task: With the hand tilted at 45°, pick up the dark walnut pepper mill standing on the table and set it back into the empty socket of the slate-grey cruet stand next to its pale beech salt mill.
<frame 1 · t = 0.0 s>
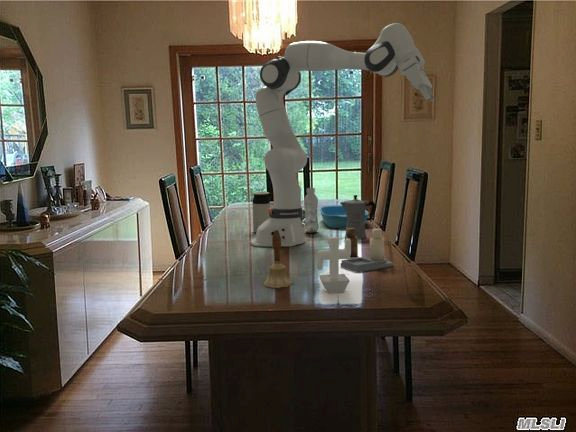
hand: (430, 99, 181), 54 cm above the table, tool tilted 30°, fingers open, 8 cm apart
cruet stand: (366, 266, 168), on the table
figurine: (334, 291, 142), on the table
hand bell: (277, 285, 150), on the table
travel mug: (262, 231, 238), on the table
casserole dish: (343, 224, 256), on the table
coffeepot: (358, 237, 219), on the table
plastic bottle: (311, 233, 232), on the table
pepper mill: (351, 256, 183), on the table
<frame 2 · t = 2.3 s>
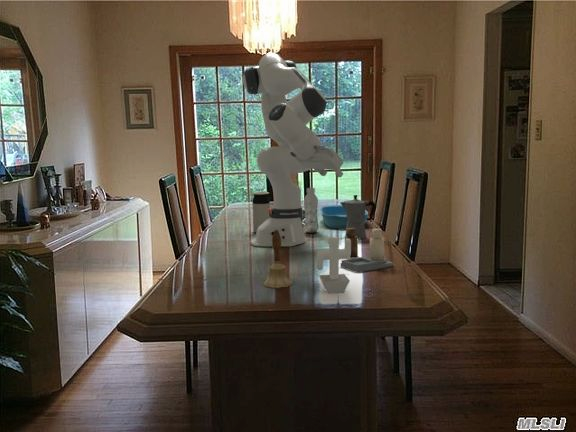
hand: (332, 175, 173), 29 cm above the table, tool tilted 45°, fingers open, 8 cm apart
nothing on the table moved.
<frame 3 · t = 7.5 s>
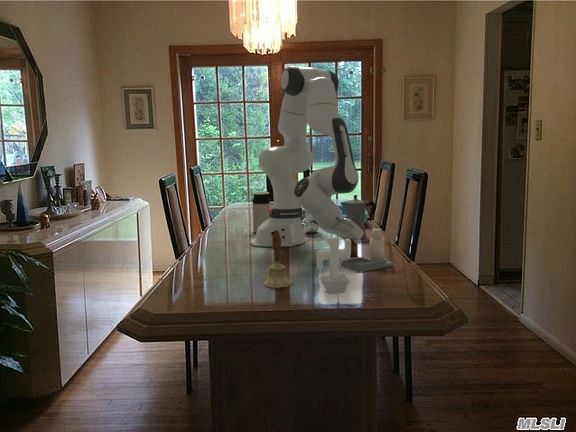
hand: (352, 241, 183), 5 cm above the table, tool tilted 45°, fingers closed on pepper mill, 5 cm apart
pepper mill: (351, 256, 183), on the table, touching gripper
everything else where it was.
when the fingers open (8 cm above the table, at t = 13.5 s): pepper mill drops 1 cm, resting on cruet stand.
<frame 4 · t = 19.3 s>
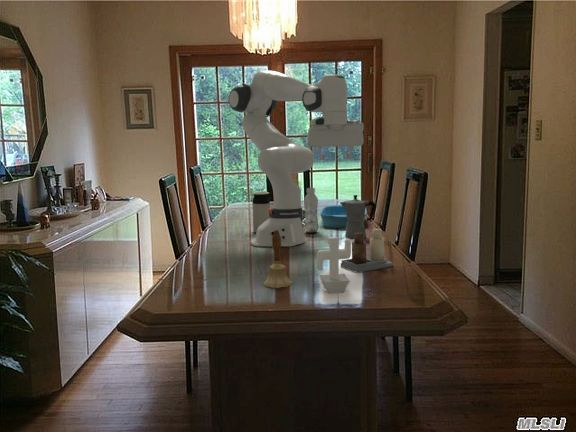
hand: (335, 159, 186), 34 cm above the table, tool pointing down, fingers open, 8 cm apart
pepper mill: (359, 263, 167), point 1 cm above the table, touching cruet stand
at the end: pepper mill 0.1 cm from the target spot, point 1.2 cm above the table; pepper mill tilted 1°; the gripper is holding nothing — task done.
